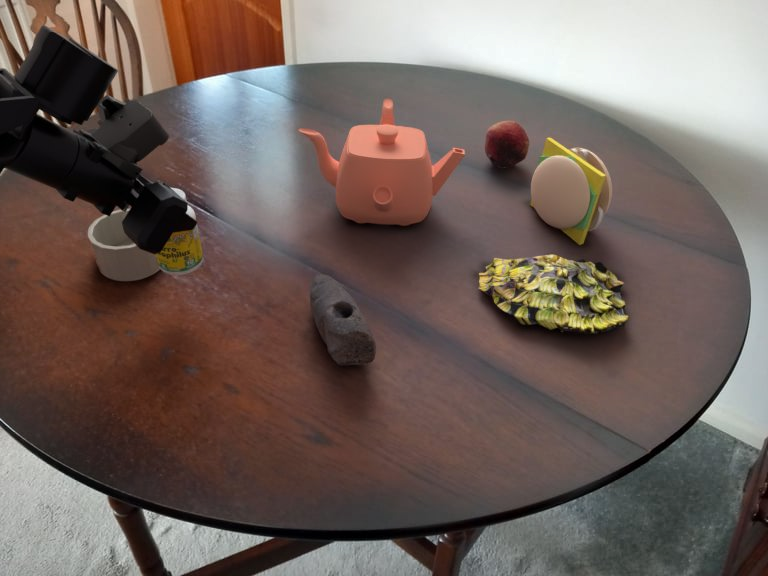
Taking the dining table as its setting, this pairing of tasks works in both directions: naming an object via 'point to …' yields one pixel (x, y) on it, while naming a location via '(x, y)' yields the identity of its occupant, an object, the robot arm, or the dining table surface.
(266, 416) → the dining table surface
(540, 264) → the scaly yellow mound
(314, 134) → the teapot
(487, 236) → the dining table surface
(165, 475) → the dining table surface
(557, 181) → the hamburger
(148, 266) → the beige cup
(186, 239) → the supplement bottle
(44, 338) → the dining table surface
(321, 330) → the perforated stone tool
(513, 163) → the fruit
